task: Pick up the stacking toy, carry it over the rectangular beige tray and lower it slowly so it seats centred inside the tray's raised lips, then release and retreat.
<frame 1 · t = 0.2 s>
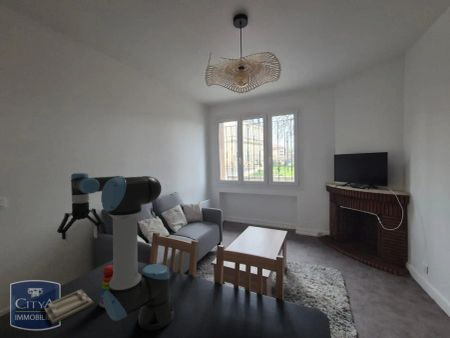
hand: (81, 241, 112), 27 cm above the table, fingers open, 13 cm apart
stacking toy: (108, 303, 103), on the table
rectangular beige tray: (68, 306, 101), on the table
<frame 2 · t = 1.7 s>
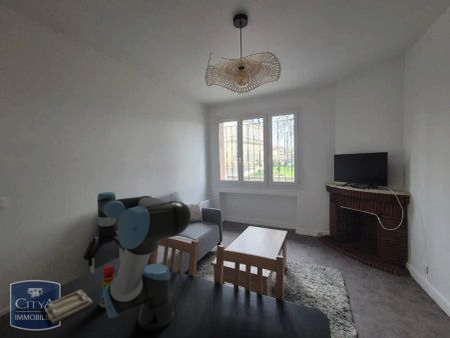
hand: (107, 266, 103), 19 cm above the table, fingers open, 13 cm apart
nothing on the table moved.
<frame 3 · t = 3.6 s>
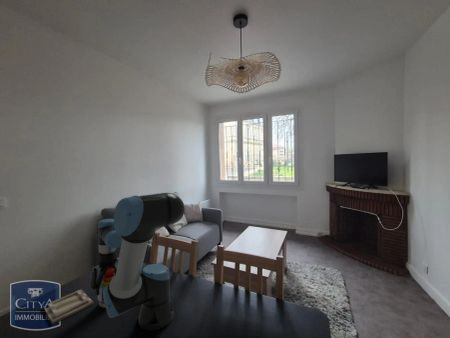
hand: (108, 295, 103), 4 cm above the table, fingers closed on stacking toy, 7 cm apart
stacking toy: (108, 303, 103), on the table, touching gripper
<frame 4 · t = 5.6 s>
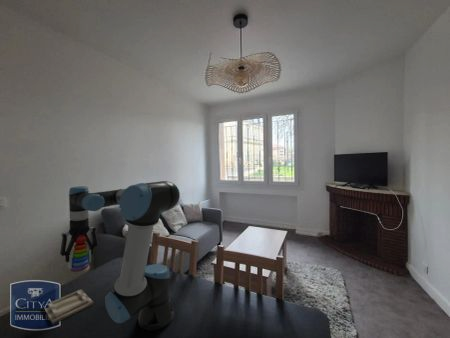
hand: (79, 264, 101), 20 cm above the table, fingers closed on stacking toy, 7 cm apart
stacking toy: (79, 271, 102), point 16 cm above the table, touching gripper
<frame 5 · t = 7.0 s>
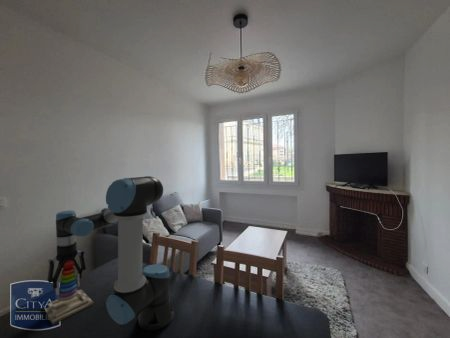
hand: (68, 289, 101), 8 cm above the table, fingers closed on stacking toy, 7 cm apart
stacking toy: (68, 297, 101), point 5 cm above the table, touching gripper
when the fingers open (5 cm above the table, at t = 8.0 s): stacking toy stays where it is, resting on rectangular beige tray.
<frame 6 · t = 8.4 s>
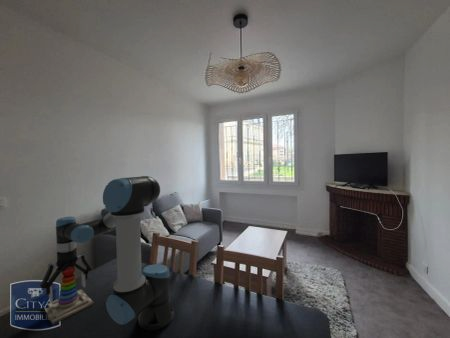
hand: (68, 292, 101), 7 cm above the table, fingers open, 12 cm apart
stacking toy: (68, 304, 101), point 1 cm above the table, touching rectangular beige tray
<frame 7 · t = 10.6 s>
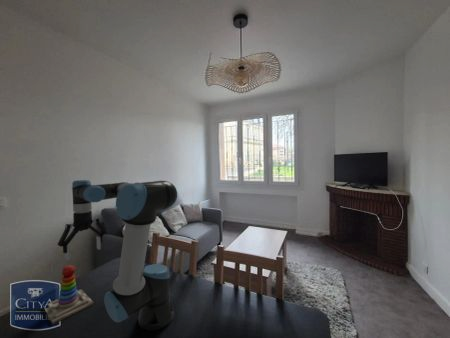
hand: (84, 253, 103), 25 cm above the table, fingers open, 13 cm apart
nothing on the table moved.
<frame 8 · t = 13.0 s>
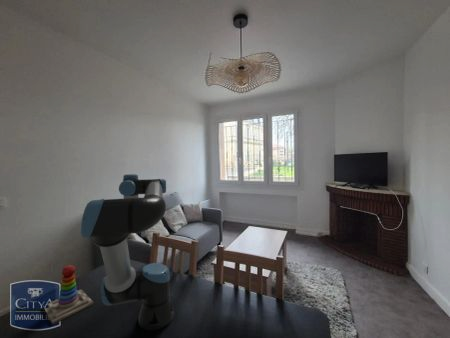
hand: (131, 240, 115), 27 cm above the table, fingers open, 13 cm apart
nothing on the table moved.
at the end: stacking toy 0.0 cm from the rectangular beige tray (horizontally); stacking toy tilted 0°; stacking toy touching rectangular beige tray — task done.
